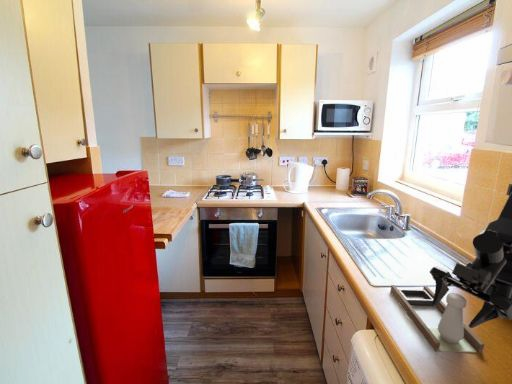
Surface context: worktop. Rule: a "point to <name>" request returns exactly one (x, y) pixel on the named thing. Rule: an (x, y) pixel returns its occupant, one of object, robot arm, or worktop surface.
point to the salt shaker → (452, 319)
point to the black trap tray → (417, 297)
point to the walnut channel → (433, 333)
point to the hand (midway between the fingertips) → (450, 315)
